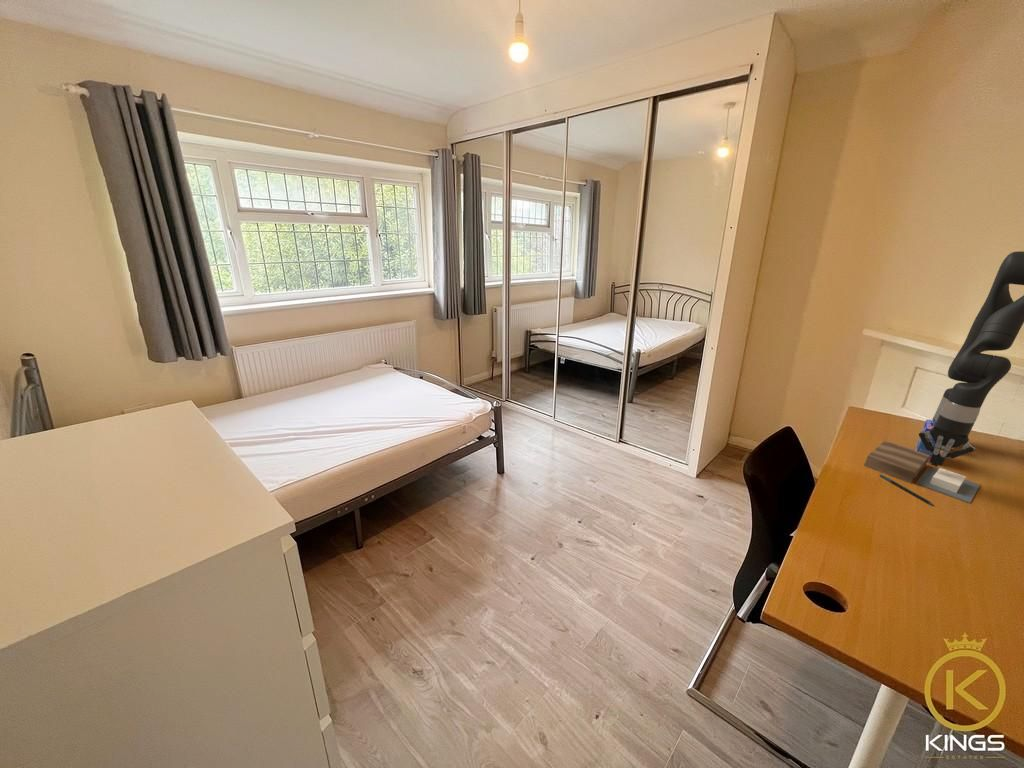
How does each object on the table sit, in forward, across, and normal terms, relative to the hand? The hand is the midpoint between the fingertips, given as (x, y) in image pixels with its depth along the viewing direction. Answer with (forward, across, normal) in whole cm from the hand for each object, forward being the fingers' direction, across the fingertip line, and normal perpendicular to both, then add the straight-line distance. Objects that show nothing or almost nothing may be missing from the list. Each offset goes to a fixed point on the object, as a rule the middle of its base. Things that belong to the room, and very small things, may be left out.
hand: (934, 464), depth 129 cm
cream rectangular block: (+3, -4, 0) cm, 5 cm away
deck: (+5, +9, 0) cm, 10 cm away
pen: (+6, +2, +15) cm, 16 cm away
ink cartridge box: (+5, +5, -17) cm, 18 cm away
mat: (+5, -4, 0) cm, 7 cm away
